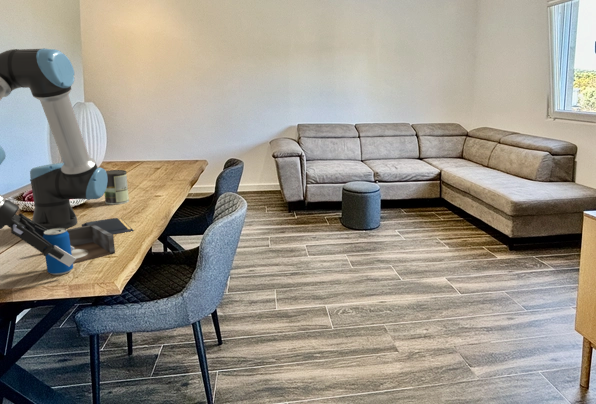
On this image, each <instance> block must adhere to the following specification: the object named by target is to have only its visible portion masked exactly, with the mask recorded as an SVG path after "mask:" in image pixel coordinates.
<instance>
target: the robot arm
mask: <svg viewBox="0 0 596 404" xmlns="http://www.w3.org/2000/svg"><path fill="white" fill-rule="evenodd" d="M74 82H75V70H74V67H73V65H72V62H71V60H70V59H69V57H68V56H67V55H66V54H64V53H63V52H62V51H61V50H58V49H49V48H26V49H22V48H21V49H18V48H17V49H15V48H13V49H8V50H5V51H2V52H1V53H0V101H2V99H3V98H6V97H8V96H10V94H11V93H12V92H13V91H14V90H16V89H21V88H23V89H25V88H27V89H28V88H29V90H30V93H31V95H32V97H33V98H35V99H37V100H38V101H40V104H41V108H42V109H43V113H44V115H45V118H46V120H47V123H48V125H49V129H50V131H51V133H52V137H53V139H54V142H55V144H56V146H57V150H58V152H59V156H60V158H61V161H62V162H57V163H56V162H55V163H51V164H50V163H49V164H45V165H41V166H36V167H33V168H32V169H31V168H30V171H29V175H30V179H29V181H30V185H31V193H32V198H33V203H34V211H33V214H32V219H31V218H29V217H27V216H26V215H24V214H23V213H18V211H19V205H17V204H16V203H14V202H12V201H11V200H9V199H5V197H4V196H3V194H0V230H2V229H3V228H5V226H7V227H8V228H10V233H11V234H12V235H14V236H16V237H17V238H19V239H20V240H22V241H24V242H25V243H26V244H28V245H30V246H31V247H32V248H33V249H35V250H37V251H38V252H40V253H41V254H42V255H43V256H44V257H45V256H47V255H48V254H49V255H50V256H52V257H54V258H55V259H57V260H59V261H60V262H62V263H64V264H65V265H67V266H69V267H70V266H71V265H72V263H73V262H74V261H75V260H76V258H75V257H73V256H72V255H70V254H69V253H67V252H65V251H64V250H62V249H60V248H59V247H57V246H56V245H55V246H54V245H52V244H51V243H49V242H48V241H47V240H45V239H44V238H43V235H44V232H45V231H47V230H50V229H55V228H65V229H69V228H72V227H73V226H75V225H77V224H78V216H77V215H76V213H75V211H74V209H73V207H72V205H71V202H70V200H87V201H90V200H98V199H100V198H102V197H103V196H104V195H105V191H106V188H107V182H108V178H107V173H106V171H107V170H106V169H105V168H104V167H103V168H102V167H98V165H97V162H96V160H95V159H94V158H91V157H90V155H89V153H88V150H87V147H86V144H85V141H84V137H83V135H82V132H81V129H80V125H79V123H78V118H77V117H76V114H75V110H74V107H73V105H72V102H71V99H70V96H69V94H70V92H71V91H72V85H74ZM6 155H7V154H6V151H5V150H4V148H3V146H1V145H0V166H1V165H2V164H3V162H4V161H5V160H6V157H7V156H6ZM17 213H18V214H17ZM70 246H71V245H70ZM45 247H46V248H45ZM73 249H74V247H72V246H71V252H72V251H73Z"/></svg>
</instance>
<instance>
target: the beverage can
mask: <svg viewBox="0 0 596 404" xmlns="http://www.w3.org/2000/svg"><path fill="white" fill-rule="evenodd" d="M67 230H68V228H55V229H50V230H47V231H45V232H44V235H43V238H44V239H45V240H47V241H48V242H49V243H51V244H52V245H54V246H55V245H56V246H57V247H59V248H60V249H62V250H64V251H65V252H67V253H69V254H70V255H72V253H71V246H70V238H69V233H68V232H67ZM45 248H46V247H45ZM44 257H45V263H46V271H47V273H49V274H51V275H53V276H61V275H65V274H68V273H70V272H71V271H72V270H73V269H74V264H73V263H72V265H71V266H70V267H69V266H67V265H65V264H64V263H62V262H60V261H59V260H57V259H55V258H54V257H52V256H50V255H49V254H48V255H47V256H44Z"/></svg>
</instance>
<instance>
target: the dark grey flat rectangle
mask: <svg viewBox="0 0 596 404" xmlns="http://www.w3.org/2000/svg"><path fill="white" fill-rule="evenodd" d="M93 224H94V225H96V226H98V227H100V228H102V229H103V230H105V231H107V232H109V233H111V234H112V235H113V236H114V235H119V234H120V235H121V234H124V233H125V232H126V233H130V232H131V231H132V232H134V231H135V230H134V229H133V228H132V227H131V226H130V225H129V224H128V223H127V222H125V220H124V219H123V218H120V217H119V218H118V217H114V218H104V219H100V220H91V221H88V222H86V221H85V222H84V223H82V224H81V227H83V226H88V225H93Z"/></svg>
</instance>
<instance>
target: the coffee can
mask: <svg viewBox="0 0 596 404" xmlns="http://www.w3.org/2000/svg"><path fill="white" fill-rule="evenodd" d="M105 171H106V173H107V178H108V182H107V188H106V191H105V193H104V200H105V205H113V206H115V205H122V204H128V203H129V201H130V198H129V187H128V186H129V185H128V179H127V170H123V169H111V170H105Z"/></svg>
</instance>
